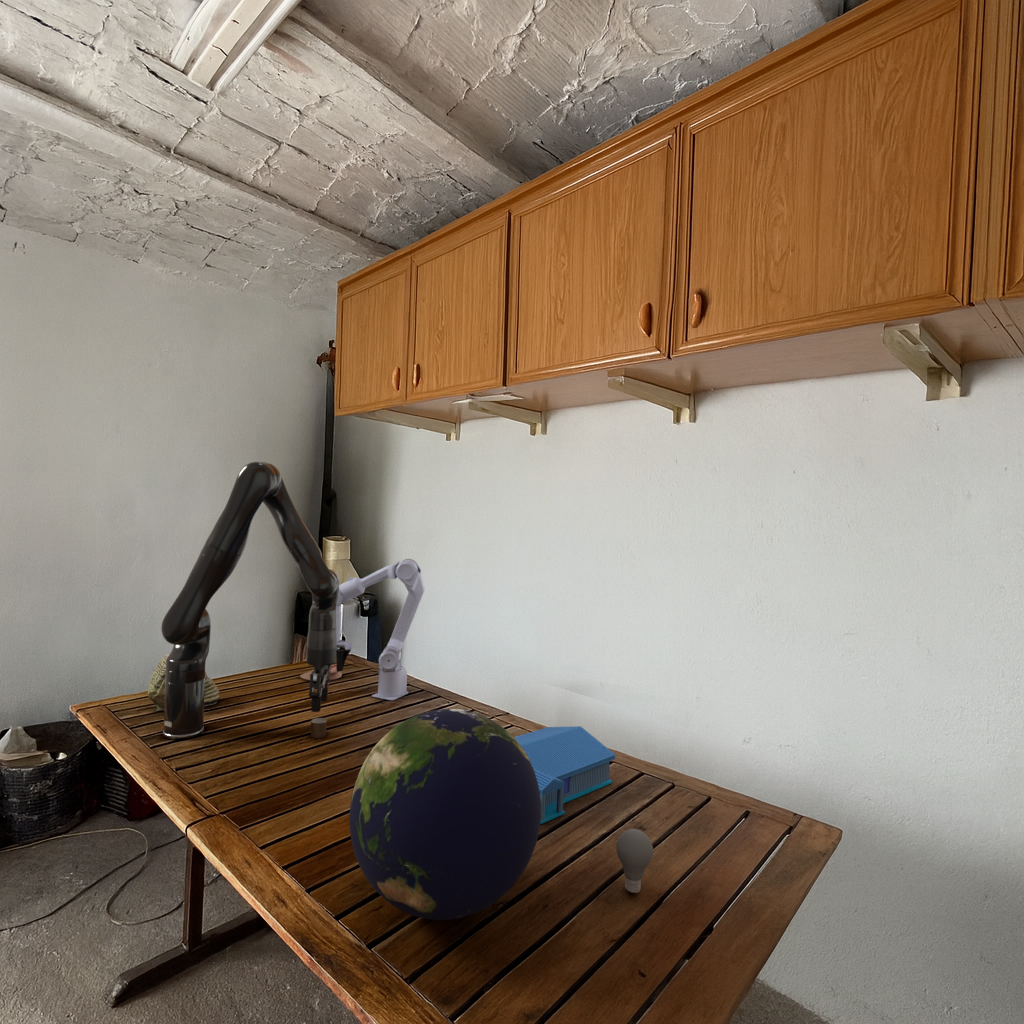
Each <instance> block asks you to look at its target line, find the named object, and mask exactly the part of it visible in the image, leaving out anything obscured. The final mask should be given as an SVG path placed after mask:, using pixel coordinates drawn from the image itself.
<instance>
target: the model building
mask: <svg viewBox="0 0 1024 1024" xmlns="http://www.w3.org/2000/svg"><path fill="white" fill-rule="evenodd" d="M513 737H514V738H515V739H516V740H517V742H518V743H519V744H520V745H521V746H522V748H523V749H524V751H525V753H526V754H527V756H528V758H529V759H530V761H531V764H532V767H533V769H534V772H535V775H536V778H537V781H538V786H539V791H540V799H541V821H540V825H543V824H544V823H545V824H546V823H547V822H550V821H552V820H554V819H556V818H558V817H560V816H564V815H565V814H566V811H565V810H564V804H566V803H569V802H571V801H573V800H576V799H578V798H580V797H582V796H586V795H588V794H591V793H592V792H594V791H597V790H599V789H601V788H604V787H606V786H608V785H611V784H613V780H612V779H611V778H610V762H611V761H615V760H616V754H615V753H614V752H613V751H611V750H610V749H609V748H608V747H607V746H606V745H604V744H603V743H602V742H600V741H599V740H598V739H597V738H596V737H595V736H593V735H592V734H591V733H589V732H588V731H587V730H586V729H585V728H584V727H582V726H580V725H579V726H577V725H576V726H546V727H544V728H540V729H537V730H534V731H531V732H527V733H524V734H521V735H517V736H513Z"/></svg>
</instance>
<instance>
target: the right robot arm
mask: <svg viewBox="0 0 1024 1024" xmlns="http://www.w3.org/2000/svg"><path fill="white" fill-rule="evenodd" d="M386 579H392V580H396V579H398V580H399V581H401V583H403V585H404V586H405V588H406V590H407V592H408V593H407V595H406V598H405V601H404V603H403V605H402V608H401V611H400V614H399V615H398V618H397V621H396V623H395V626H394V628H393V631H392V633H391V636H390V638H389V641H388V642H387V645H386V646H385V647H384V649H383V651H382V652H381V654H380V655H379V657H378V664H379V666H378V680H377V692H376V693H374V694H371V697H372V698H375V699H376V698H377V699H380V700H381V699H382V700H387V701H395V700H397V699H400V698H401V697H403V696H405V695H408V694H409V693H410V692H409V691H407V684H408V672H407V669H406V667H405V666H403V665H401V663H400V661H401V660H402V657H403V647H404V644H405V641H406V638H407V637H408V633H409V631H410V628H411V625H412V623H413V620H414V619H415V615H416V613H417V611H418V608H419V606H420V603H421V601H422V599H423V595H424V593H425V585H424V580H423V576H422V569H421V567H420V566H419V564H418V563H417V561H416V560H414V559H412V558H405V559H403V560H401V561H396V562H394V563H391V564H388V565H386V566H384V567H382V568H380V569H378V570H376V571H374V572H372V573H369V574H368V575H366V576H364V577H363V578H360V577H352V576H351V577H348V578H347V581H345V582H343V583H341V584H339V594H338V602H337V623H336V631H337V649H336V662H335V664H336V669H337V672H339V671H340V672H342V671H344V667H345V663H346V660H347V658H348V656H349V654H350V653H351V651H352V644H353V642H350V641H346V640H343V639H341V637H342V634H341V633H342V604H343V603H346V602H349V601H350V600H353V599H355V598H357V597H359V596H361V595H363V594H365V590H366V588H368V587H370V586H372V585H375V584H377V583H379V582H381V581H384V580H386Z"/></svg>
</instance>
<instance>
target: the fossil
mask: <svg viewBox="0 0 1024 1024" xmlns="http://www.w3.org/2000/svg"><path fill="white" fill-rule="evenodd" d="M168 656H169V654H165V655H164V656H163V657H162V658H161V659H160V660H159V662H158V663H157V666H156V667H155V669H154V670H153V672H152V675H151V677H150V680H149V684H148V688H147V697H148V699H149V700H150V701H152V703H153V704H154V706H155V711H158V712H159V711H162V712H163V711H164V705H165V674H166V659H167V657H168ZM220 698H221V696H220V690H219V688H218V686H217V685H216V683H215V682H214V681H213V679H212V678H211V677H209V675H208V674H207V672H206V671H205V693H204V707H207V706H213V705H215V704H217V703H218V701H219V699H220Z"/></svg>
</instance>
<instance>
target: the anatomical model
mask: <svg viewBox="0 0 1024 1024" xmlns="http://www.w3.org/2000/svg"><path fill="white" fill-rule="evenodd" d="M312 671H314V669H312V670H310V671H307V672H304V673H302V674H300V675H299V678H300V679H302V680H306V681H310V674H311V673H312ZM342 676H343V673H342V671H339V672H337V669H336V663H334V664H332V665H331V681H333V680H337V679H339V678H341V677H342Z"/></svg>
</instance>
